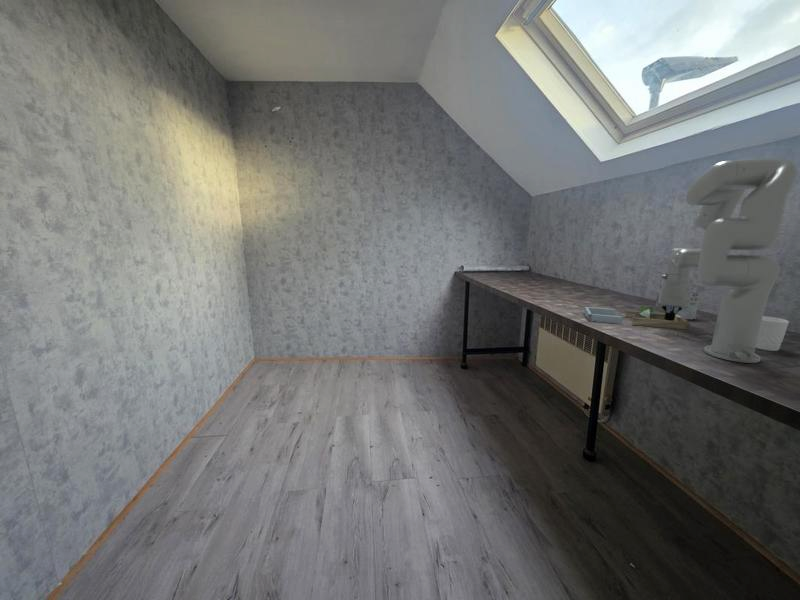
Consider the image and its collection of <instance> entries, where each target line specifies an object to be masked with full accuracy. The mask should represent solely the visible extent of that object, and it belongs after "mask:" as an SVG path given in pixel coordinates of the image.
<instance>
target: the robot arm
mask: <svg viewBox="0 0 800 600" xmlns="http://www.w3.org/2000/svg"><path fill="white" fill-rule="evenodd" d="M796 178H797V167H796V165H795V163H793V162H792V161H791V160H789V159H787V158H786V159H784V158H772V157H771V158H769V157H767V158H751V159H748V158H747V159H731V160H724V161H720V162H717V163H715V164H714V165H712V166H711V167H710V168H708V169H707V170H706V171H705V172H704V173H702V174H701V175H700V176H699V177H697V178H696V179H695V180H694V181H693V182H692V183H691V185H690V186H689V188H688V190H687V192H686V196H685V202H686V203H687V204H688V205H690V206H701V208H700V209H699V212H698V214H697V215H696V217H695V219H694V225H695V227H696V228H698V229H700V230H701V231H704V233H703V237H702V240H701V248H689V247H688V248H686V247H685V248H684V247H674V248H671V249H670V250H669V252H668V257H667V263H666V268H665V273H664V274H660V279H663V280H662V281H661V284H660V285H659V288H658V292H657V296H656V302H655V303H656V304H655V307H656V308H660V309H662V310H663V311H664V313H665V318H664V319H665V320H672V321H673V320H674V319H675V314H676V313H677V312H678V311H680V310H683V309H688V306H689V305H690V300H691V291H692V283H691V282H689V279H690V274H691V269H697V277H698V280H699V282H701V283H702V284H704V285H706V286H712V287H714V286H715V287H730V288H729V289H727V291H726V292H725V293H724V295H723V296H722V297H721V299H720V303H719V308H718V312H717V317H716V322H715V327H714V331H713V336H712V341H711V345H706V346H704V347H703V352H704V353H706V354H708V355H710V356H711V357H715V358H719V359H722V360H725V361H732V362H736V363H744V364H745V363H746V364H756V363H760V362H761V356H760V355H759V354H757V353H755V351H756V349H757V348H756V344H757V340H758V335H759V331H760V327H761V323H762V319H763V316H765V315H764V314H765V311H766V306H767V303H768V299H769V296H770V293H771V291H772V288H773V286H774V285H775V283H776V281H777V279H778V277H779V275H780V270H781V269H780V264H779V263H778V261H777V260H776V259H775V258H773V257H770V256H766V255H761V254H730V253H729V252H730V251H760V250H761V251H762V250H768V249H770V248H772V247H773V246H774V245H775V244H776V242H777V241H778V238H779V235H780V231H781V226H782V222H783V217H784V211H785V207H786V206H785V205H786V201H787V198H788V196H789V194H790V192H791V190H792V187H794V184H795V181H796ZM746 190H752V191H751V192H749V194H747V196H746V197H745V198H744V200H742V203H741V207H740V212H739V216H738V217H737V216H736V217H734V216H733V217H732V215H733V214H734V212H735V210H736V208H737V207H738V204H739V202H740V201H741V199H742V197H743V195H744V194H745V192H746ZM670 306H673V307H672V310H671V311H670ZM665 311H666V312H665Z"/></svg>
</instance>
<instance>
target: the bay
mask: <svg viewBox="0 0 800 600" xmlns="http://www.w3.org/2000/svg"><path fill="white" fill-rule="evenodd" d="M616 312H617V310H616V308H605V307H593V306H584V312H583V314H584V315H585V318H586V317H587V318H586V319H588V320H587V321H588V322H594V321H596V322H597V323H609V324H615V325H616V324H617V325H622V323H623V316H619V315H616Z"/></svg>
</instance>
